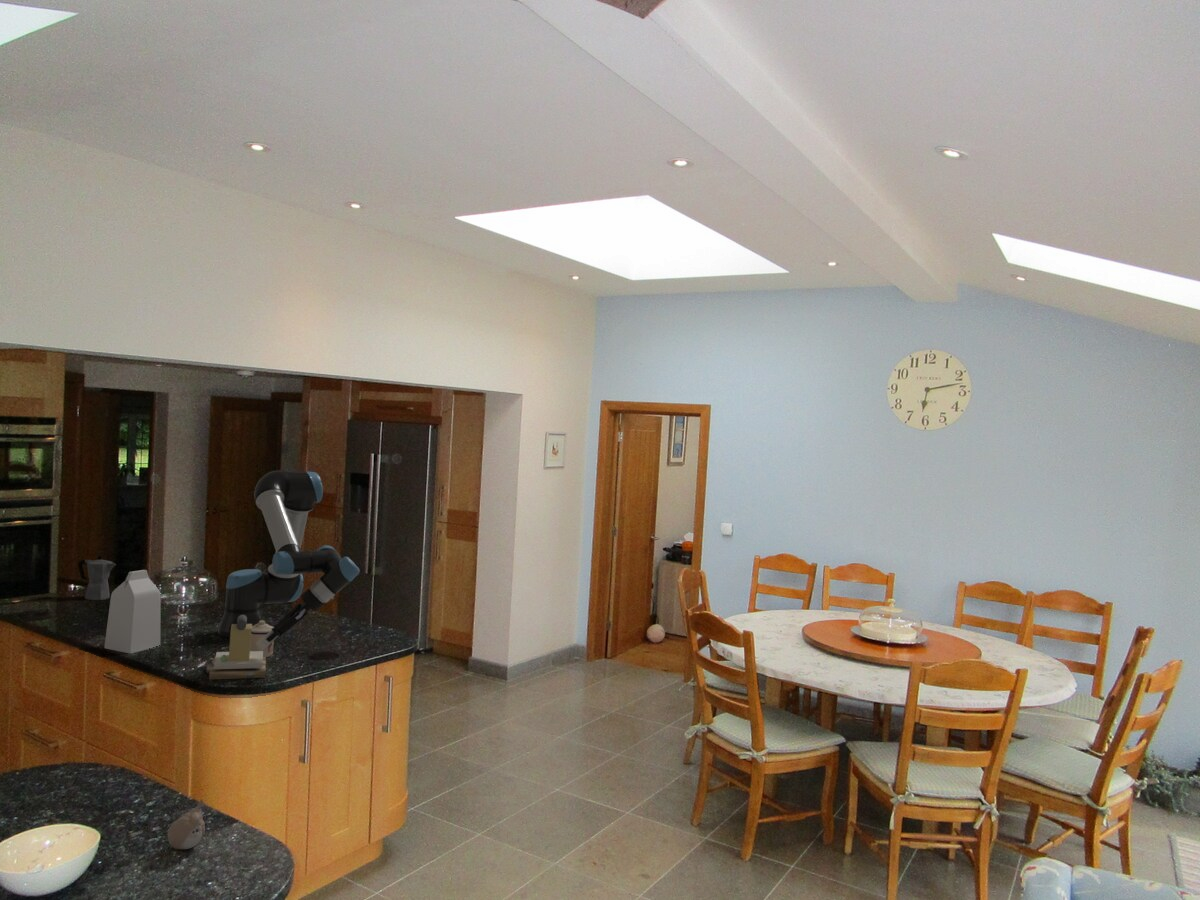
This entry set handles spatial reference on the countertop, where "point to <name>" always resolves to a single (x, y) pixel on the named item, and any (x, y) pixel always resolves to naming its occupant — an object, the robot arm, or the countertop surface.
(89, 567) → the coffeepot
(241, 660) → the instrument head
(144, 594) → the milk
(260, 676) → the brown layered stack
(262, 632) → the teacup with lid
